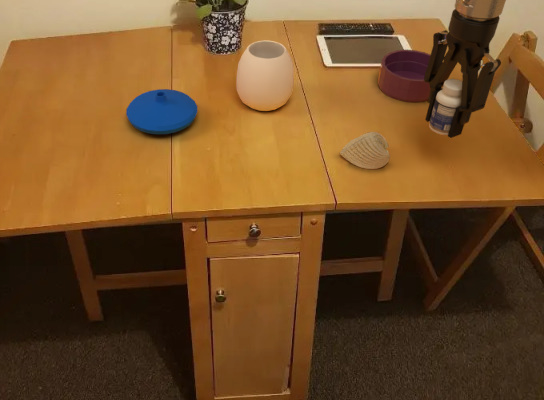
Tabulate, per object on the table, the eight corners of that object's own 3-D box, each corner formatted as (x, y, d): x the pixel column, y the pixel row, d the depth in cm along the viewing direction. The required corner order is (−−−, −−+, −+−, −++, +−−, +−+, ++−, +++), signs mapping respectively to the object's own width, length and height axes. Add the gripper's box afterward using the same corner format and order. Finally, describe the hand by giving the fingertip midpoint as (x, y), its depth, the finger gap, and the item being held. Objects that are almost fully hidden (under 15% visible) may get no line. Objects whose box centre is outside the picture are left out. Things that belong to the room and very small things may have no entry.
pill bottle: (434, 117, 115) (446, 73, 109) (461, 125, 113) (474, 82, 106) (424, 130, 112) (435, 86, 106) (451, 139, 110) (465, 95, 103)
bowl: (451, 93, 139) (458, 71, 134) (404, 109, 134) (410, 87, 130) (410, 66, 148) (415, 44, 144) (365, 80, 143) (369, 58, 139)
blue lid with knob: (114, 119, 131) (109, 92, 126) (169, 93, 139) (167, 67, 134) (155, 151, 122) (152, 124, 118) (212, 122, 130) (211, 96, 125)
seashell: (399, 164, 116) (369, 152, 112) (369, 180, 122) (340, 169, 118) (395, 129, 119) (366, 117, 115) (366, 146, 126) (338, 135, 122)
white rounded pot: (254, 123, 130) (256, 70, 120) (225, 95, 138) (225, 43, 129) (303, 107, 134) (309, 55, 125) (272, 81, 143) (275, 30, 134)
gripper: (421, -4, 101) (396, 108, 117) (504, 39, 89) (463, 158, 105) (453, -12, 104) (424, 99, 120) (538, 29, 92) (493, 146, 108)
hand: (442, 126), depth 112 cm, fingers closed on pill bottle, 5 cm apart
